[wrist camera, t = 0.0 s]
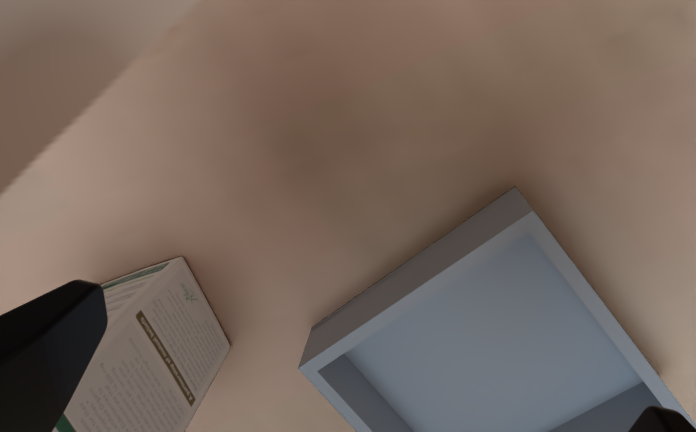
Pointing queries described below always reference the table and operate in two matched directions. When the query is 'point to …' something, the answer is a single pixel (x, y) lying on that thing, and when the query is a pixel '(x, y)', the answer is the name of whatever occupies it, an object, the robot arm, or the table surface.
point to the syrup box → (149, 355)
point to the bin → (483, 340)
